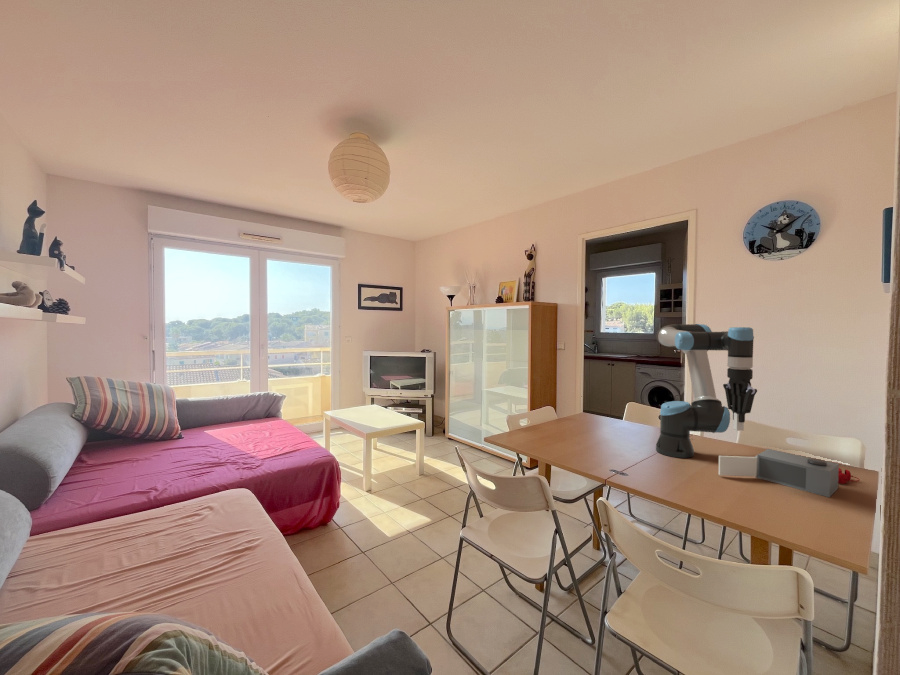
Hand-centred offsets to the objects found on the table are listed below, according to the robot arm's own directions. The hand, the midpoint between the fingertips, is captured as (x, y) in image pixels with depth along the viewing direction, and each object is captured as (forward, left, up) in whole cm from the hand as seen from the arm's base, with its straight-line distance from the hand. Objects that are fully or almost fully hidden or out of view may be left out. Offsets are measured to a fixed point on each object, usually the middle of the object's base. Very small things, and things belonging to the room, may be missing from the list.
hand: (738, 429), depth 142 cm
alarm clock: (+20, +31, -20) cm, 42 cm away
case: (+13, +14, -19) cm, 28 cm away
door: (-1, +3, -19) cm, 19 cm away
